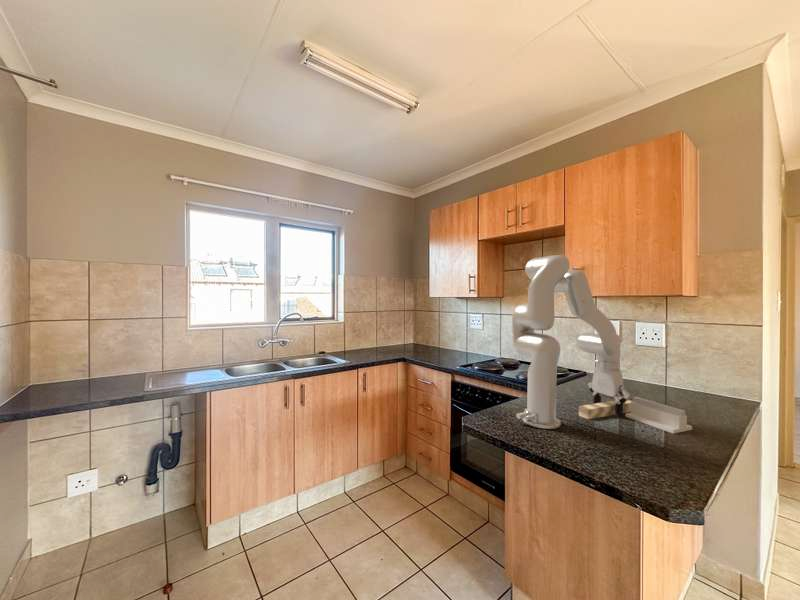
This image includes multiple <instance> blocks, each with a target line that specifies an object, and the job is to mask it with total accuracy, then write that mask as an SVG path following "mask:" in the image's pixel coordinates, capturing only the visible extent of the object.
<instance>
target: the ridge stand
mask: <svg viewBox="0 0 800 600" xmlns="http://www.w3.org/2000/svg"><path fill="white" fill-rule="evenodd" d="M632 401H633V402H631V412H627V413H625V415H624V416H625V417H626V418H629V419H631V420H634V421H637V422H640V423H642V424H645V425H648V426H651V427H654V428H657V429H659V430H662V431H666V432H668V433H670V434H678V433H683V432H687V431H692V430H693V425H690V424H688V423H687V422H688V415H686V410H683V409H680V408H677V407H674V406H670V405H667V404H664V403H660V402H656V401H654V400H650V399H646V398H642V397H639V396H633V397H632Z"/></svg>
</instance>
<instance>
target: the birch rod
mask: <svg viewBox="0 0 800 600" xmlns="http://www.w3.org/2000/svg"><path fill="white" fill-rule="evenodd" d="M631 402H633V400H628V401H626V402H625V403H623V412H622V414H626V413H631ZM615 403H617V402H616V400H615V399H614V400H610V401H603V402H602V401H601V403H595V404H594V403H591V404H584V405H578V416H579V417H581V418H584V419H587V420H591V419H593V420H594V419H600V418H603V417H609V416H614V415H615V416H616V414H615Z"/></svg>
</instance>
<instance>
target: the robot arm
mask: <svg viewBox="0 0 800 600" xmlns="http://www.w3.org/2000/svg"><path fill="white" fill-rule="evenodd" d="M524 271H525V274H526V276H527V277H528V278H529V280H530V283H529V286H528V288H527V303H522V304H519V305H517V306H516V307H515V309H514V310H513V312H512V316H511V318H512V319H511V320H512V321H511V323H512V324H511V325H512V326H511V328H512V344H513V348H514V351H515V352H516V353H517V354H518V355H520V356H522V357H525V358H528V359H531V363H530V365H529V367H528V369H527V393H526V394H527V395H526V396H527V397H526V399H527V400H526V401H527V402H526V403H527V405H526V406H527V407H525V408H524V411H523V412H517V413H515V415H516V418H517V420H522V421H523V422H524V423H525V424H527V425H529V426H532V427H534V428H538V429H547V430H552V429H558V428H560V427H561V420H560V419H559V418H557V379H558V377H557V376H558V373H557V372H558V365H559V364H558V363H559V358H560V355H561V345H560V342H559V341H558V340H557V339H556V338H555V337H554V336H552V335H549V334H544V333H537V332H535V331H549V330H551V329H552V328H553V327H554V326H555V325H554V324H555V296H554V295H555V293H564V295H565V298H566V301H567V305H568V307H569V311H570V313H571V314H572V315H573V316H575V317H576V318H578V319H579V320H582V321H583V322H585V323H586V324H588V325H590V326H591V327H592V328H593V329H594V330H595V332H597V333H593V332H592V333H591V332H585V333H582V334H580V335H579V336H578V337H577V339H576V345H577V348H578V349H580V350H581V351H582V352H585V353H589V354H595V355H596V354H597V356H596V357H597V358H596V359H595V360H594V361H595V364H597V365H596V366H595V367H594V370H593V373H592V381H591V382H588V383H587V386H588V388H589V392H590V393H591V396H592V397H593V404H595V403H602V397H601V395H603V396H607V397H610V398H612V397H614V398H613V399H614V401H615V400H616V402H617V403H615V415H621V414H623V413H622V412H623V403H625V402H626V401H628V399H629V398H630V399H631V396H632V394H630V392H628V391H627V390H626V389H625V387H624V377H623V372H622V370H621V336H620V335H619V334H618V333H617V329H616V327H615V326H614V324H613V322H612V321H611V320H610V319H609V318H608V316H606V315H605V314H604V313H603V312H602V311H601V310H600V309H599V308H598V307H597V306H596V304H595V300H594V297H593V293H592V291H591V288H590V284H589V281H588V278H587V275H586V274H585V272H584V271H582V270H580V269H570V259H568V257H566V256H565V255H560V254H556V255H555V254H554V255H553V254H552V255H546V256H539V257H535V258H532V259H530V260H528V261H527V263H526V264H525V268H524ZM623 394H624V397H622V396H623Z"/></svg>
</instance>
